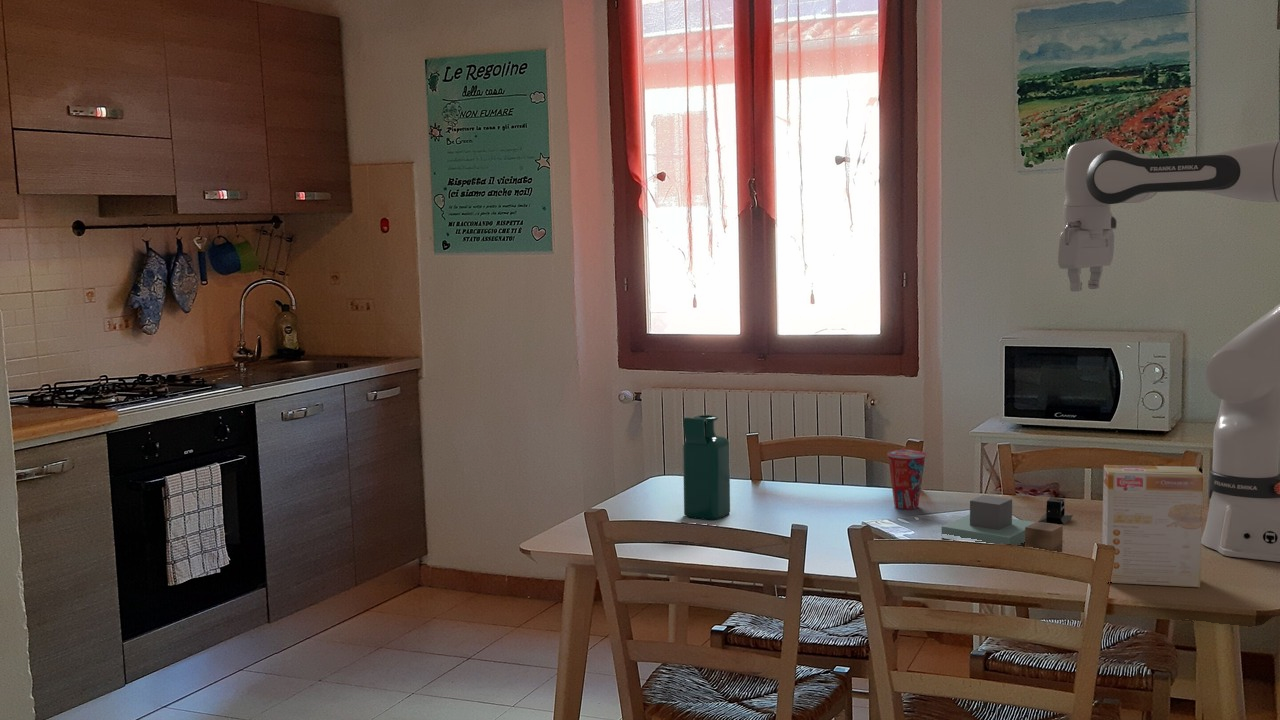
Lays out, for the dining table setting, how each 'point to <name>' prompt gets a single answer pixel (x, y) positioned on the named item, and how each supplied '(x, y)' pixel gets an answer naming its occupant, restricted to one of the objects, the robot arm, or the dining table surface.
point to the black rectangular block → (1055, 512)
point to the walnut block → (1044, 536)
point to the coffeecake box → (1154, 523)
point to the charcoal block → (991, 512)
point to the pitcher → (705, 470)
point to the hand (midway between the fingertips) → (1085, 290)
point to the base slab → (988, 531)
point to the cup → (906, 477)
